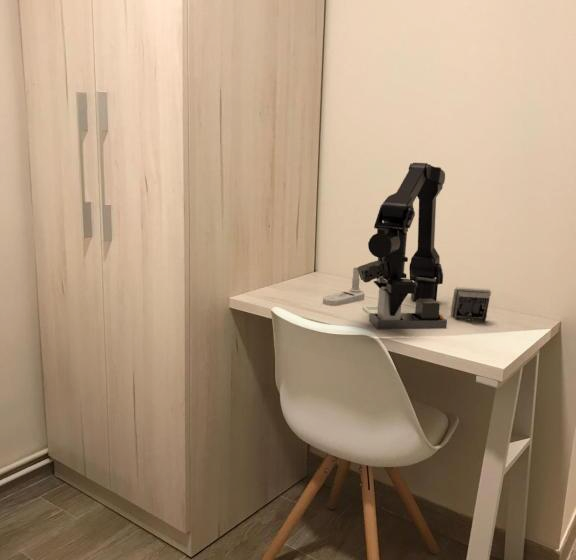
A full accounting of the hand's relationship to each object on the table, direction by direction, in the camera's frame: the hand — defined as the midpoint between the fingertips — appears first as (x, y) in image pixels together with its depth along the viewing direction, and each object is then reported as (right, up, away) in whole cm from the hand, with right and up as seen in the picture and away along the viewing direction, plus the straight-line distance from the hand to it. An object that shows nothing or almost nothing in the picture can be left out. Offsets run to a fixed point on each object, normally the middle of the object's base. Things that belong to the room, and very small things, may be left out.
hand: (389, 312), depth 156 cm
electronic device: (-9, +1, +23) cm, 25 cm away
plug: (0, -2, 0) cm, 2 cm away
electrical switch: (+23, -3, +9) cm, 25 cm away
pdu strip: (+5, -3, +2) cm, 6 cm away
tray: (0, -1, +12) cm, 12 cm away
